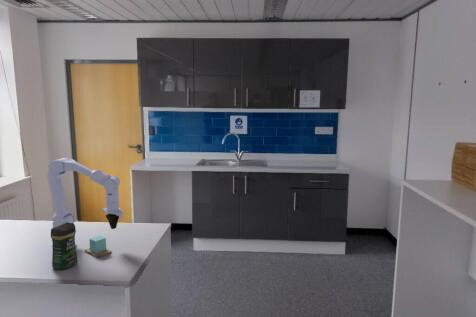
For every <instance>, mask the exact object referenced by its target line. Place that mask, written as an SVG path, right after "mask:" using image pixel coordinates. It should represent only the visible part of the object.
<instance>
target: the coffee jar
mask: <svg viewBox="0 0 476 317" xmlns="http://www.w3.org/2000/svg"><path fill="white" fill-rule="evenodd" d="M76 232H77V229H76V225H75V223H68V222H66V223H64V224H62V225H59V226H57V227H54V228H53V227H52V228H51V229H50V238H51V241H52V242H51V243H52V245H53V246H52V256H51V257H52V259H51V267H52V269H54V270H58V271H59V270H67V269H69V268H71V267H72V266H74V265H75V264H77V263H78V255H77V248H76V246H75V244H76V241H75V240H76Z"/></svg>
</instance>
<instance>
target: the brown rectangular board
mask: <svg viewBox="0 0 476 317" xmlns="http://www.w3.org/2000/svg"><path fill="white" fill-rule="evenodd" d="M84 252H85V253H87V254H88V255H90V256H93V257H95V258H97V259H99V258H102V257H104V256H107V255H110V254H112V250H110V249H108V248H106V250H105V251H102V252H99V253H97V254H96V253H94V252H92V251H90V247H89V248H87V249H84Z"/></svg>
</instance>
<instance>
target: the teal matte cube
mask: <svg viewBox="0 0 476 317" xmlns="http://www.w3.org/2000/svg"><path fill="white" fill-rule="evenodd" d="M89 248H90V251H92V252H94V253H96V254H97V253H99V252H102V251H105V250H106V249H107V238H106V237H104V236H102V235H97V236H94V237H90V238H89Z"/></svg>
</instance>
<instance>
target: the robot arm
mask: <svg viewBox="0 0 476 317" xmlns="http://www.w3.org/2000/svg"><path fill="white" fill-rule="evenodd" d="M70 171H71V172H72V171H73V172H76V173H79V174H82V175H84V176H85V177H89V180H90V181H92V182H94V183H96V184H98V185H101V186H103V188H104V190H105V202H106V203H105V204H106V205H105V207H102V213H106V214H105V218H106V219H107V221H108V223H109V226H110V229H111V230H115V229H117V226H118V222H119V219H120V218H123V217H125V216H124V214H125V213H124V212H123V211H122V209H121V208H120V198H119V196H120V195H119V194H120V193H119V186H120V183H121V181H120V178H119V177H117V175H111V174H110V173H109V174H107V173H104V172H103V171H102V170H101V169H94V170H93V169H91V168H90V167H88V166H85V165H83V164H81V163H79V162H78V161H76V160H75V159H73V158H70V157H65V156H64V157H62V158H59V159H54V160H52V161H50V163H49V164H48V172H47V175H46V177H47V178H46V179H47V182H48V186H49V190H50V195H51V198H52V199H51V200H52V203H53V208H54V213H53V216H52V220H53V221H52V228H54V227H57V226H59V225H62V224H64V223H66V222H68V223H73V224H75V221H76V219H75V216H74V214H73V213H72V211H71V210H70V209H69V208H68V205H67V200H66V196H65V191H64V188H63V187H64V186H63V183H62V177H63V176H64V175H65V173H67V172H70ZM76 246H77V247H78V244H77V243H75V247H76ZM51 247H53V244H52V245H51Z"/></svg>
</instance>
